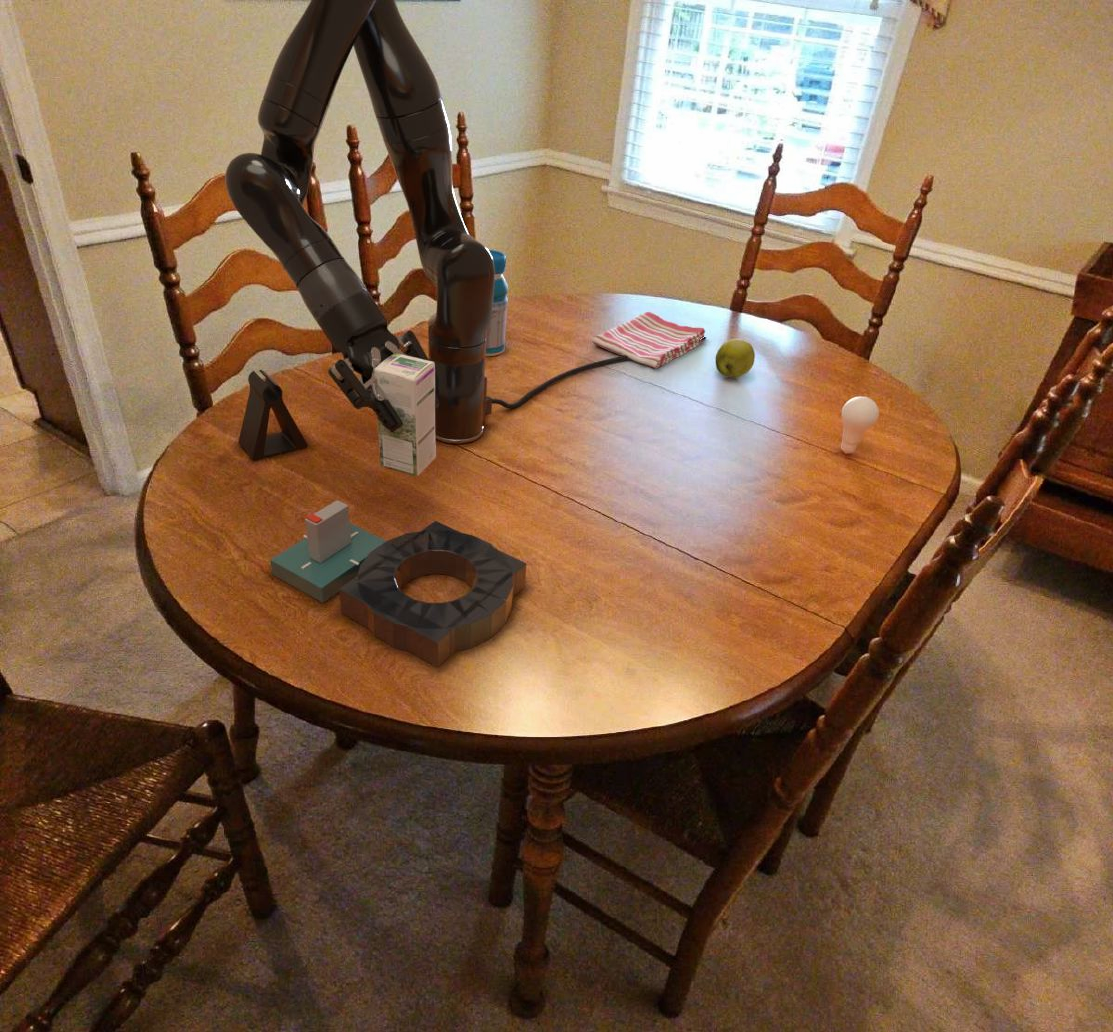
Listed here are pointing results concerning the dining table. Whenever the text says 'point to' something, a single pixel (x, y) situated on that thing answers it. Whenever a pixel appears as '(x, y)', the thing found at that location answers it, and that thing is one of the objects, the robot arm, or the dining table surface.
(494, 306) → the beverage bottle
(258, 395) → the phone stand
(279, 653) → the dining table surface
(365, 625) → the dark grey ring block
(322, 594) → the block
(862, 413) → the lightbulb
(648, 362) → the dish towel
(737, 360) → the apple
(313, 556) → the tap handle
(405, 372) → the syrup box
